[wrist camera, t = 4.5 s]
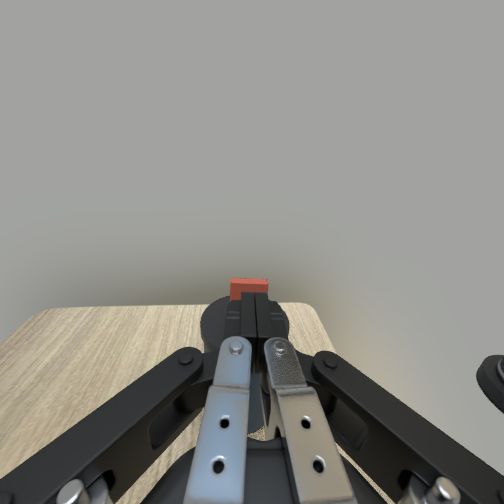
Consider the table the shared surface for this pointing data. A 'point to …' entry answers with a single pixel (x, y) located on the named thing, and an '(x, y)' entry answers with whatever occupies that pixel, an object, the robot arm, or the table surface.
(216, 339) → the travel cup
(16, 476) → the robot arm
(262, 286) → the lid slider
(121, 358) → the table surface
